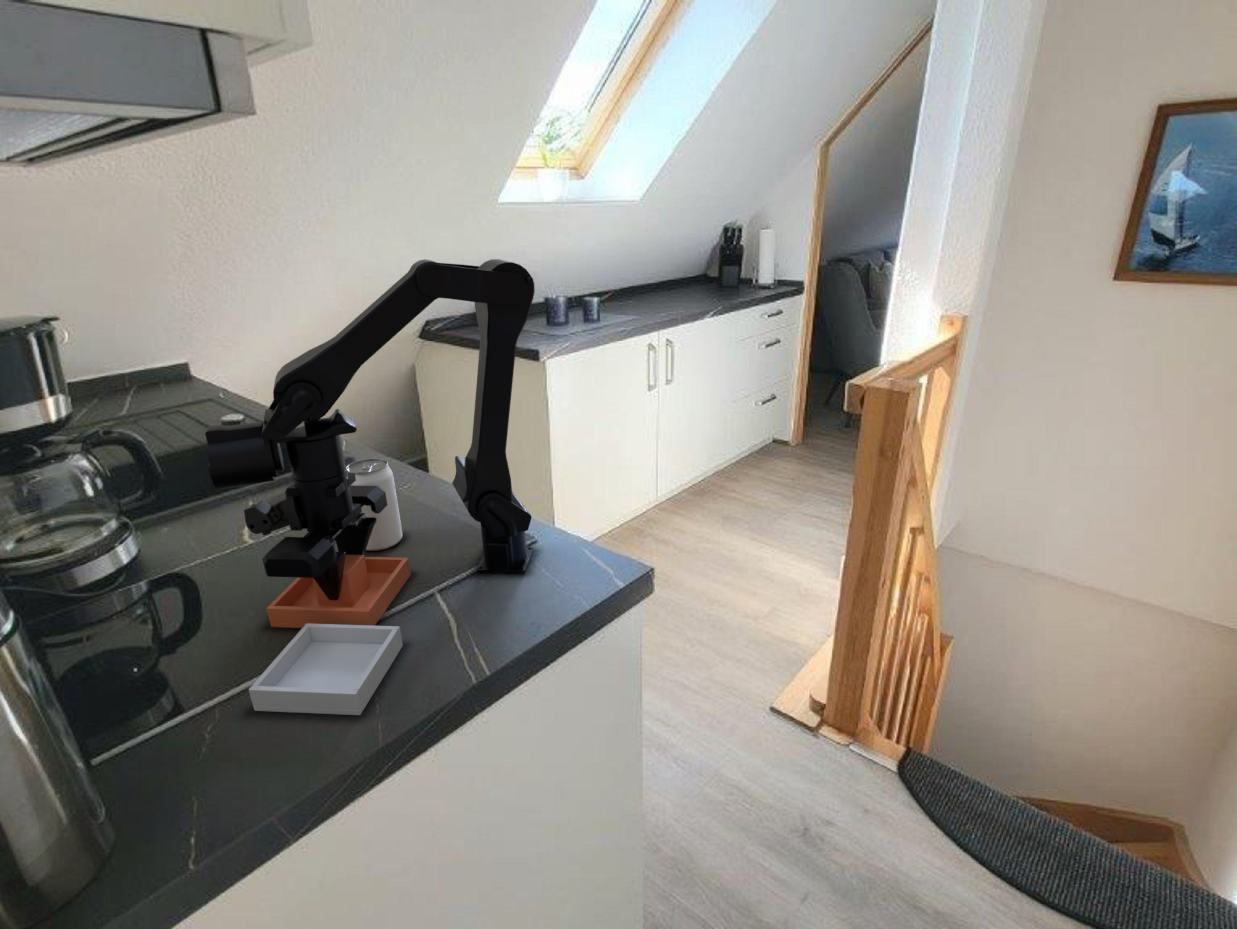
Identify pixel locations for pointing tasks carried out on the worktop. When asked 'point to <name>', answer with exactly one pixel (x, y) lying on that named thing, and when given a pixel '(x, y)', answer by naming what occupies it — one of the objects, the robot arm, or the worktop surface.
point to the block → (348, 583)
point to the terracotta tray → (303, 607)
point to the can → (388, 519)
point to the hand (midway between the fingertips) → (343, 588)
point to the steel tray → (327, 669)
